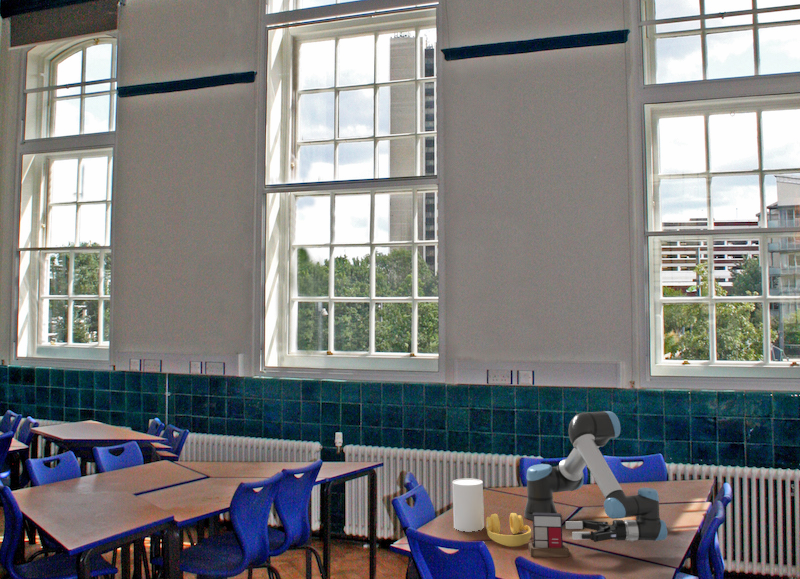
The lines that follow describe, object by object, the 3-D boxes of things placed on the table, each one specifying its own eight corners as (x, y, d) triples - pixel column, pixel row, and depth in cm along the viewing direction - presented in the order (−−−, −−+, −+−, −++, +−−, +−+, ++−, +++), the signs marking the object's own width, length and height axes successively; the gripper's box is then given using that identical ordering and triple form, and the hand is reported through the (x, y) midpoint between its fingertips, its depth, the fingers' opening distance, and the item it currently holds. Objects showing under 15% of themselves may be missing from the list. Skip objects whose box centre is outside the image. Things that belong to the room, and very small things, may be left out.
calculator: (534, 554, 252) (532, 515, 253) (533, 551, 256) (532, 512, 257) (563, 555, 250) (561, 516, 251) (562, 551, 254) (560, 513, 255)
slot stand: (528, 549, 257) (528, 542, 258) (565, 550, 256) (565, 542, 257) (531, 556, 250) (530, 548, 250) (568, 556, 249) (568, 548, 249)
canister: (487, 530, 284) (486, 484, 285) (458, 532, 281) (456, 486, 283) (479, 521, 297) (477, 477, 298) (450, 523, 295) (449, 479, 296)
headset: (493, 547, 261) (493, 524, 262) (482, 533, 282) (481, 511, 283) (536, 545, 263) (536, 522, 264) (522, 531, 284) (521, 510, 285)
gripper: (634, 550, 239) (575, 550, 240) (616, 530, 263) (563, 530, 265) (633, 530, 239) (575, 530, 241) (615, 511, 264) (563, 511, 265)
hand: (569, 530), depth 253 cm, fingers open, 13 cm apart
